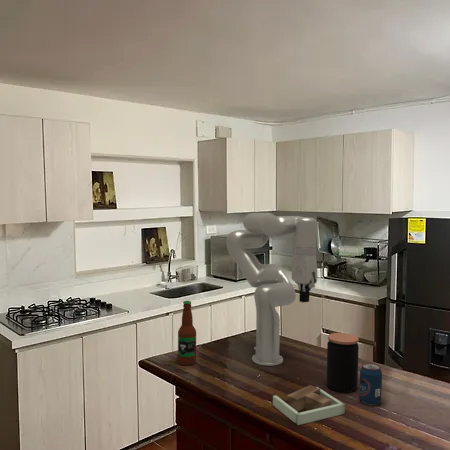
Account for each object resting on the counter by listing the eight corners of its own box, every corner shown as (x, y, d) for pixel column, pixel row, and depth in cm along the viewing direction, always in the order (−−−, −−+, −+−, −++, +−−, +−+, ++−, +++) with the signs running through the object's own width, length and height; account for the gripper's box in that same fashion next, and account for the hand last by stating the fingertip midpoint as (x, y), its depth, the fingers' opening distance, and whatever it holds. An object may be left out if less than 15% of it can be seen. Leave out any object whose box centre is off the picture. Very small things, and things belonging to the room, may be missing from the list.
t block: (287, 407, 145) (287, 395, 145) (310, 396, 153) (310, 385, 153) (315, 420, 137) (315, 407, 137) (338, 408, 145) (338, 395, 145)
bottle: (174, 363, 182) (174, 302, 180) (185, 358, 188) (185, 298, 186) (188, 367, 178) (188, 304, 176) (199, 361, 184) (200, 301, 182)
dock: (272, 405, 147) (272, 395, 146) (316, 395, 154) (317, 386, 154) (297, 425, 134) (298, 415, 134) (344, 413, 141) (344, 404, 141)
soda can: (354, 399, 152) (355, 363, 151) (370, 395, 154) (372, 361, 154) (369, 408, 145) (370, 371, 144) (385, 404, 148) (387, 368, 147)
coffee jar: (351, 380, 167) (353, 332, 165) (361, 393, 156) (363, 342, 155) (323, 380, 166) (324, 332, 165) (330, 393, 156) (332, 342, 154)
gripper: (285, 249, 169) (284, 298, 170) (309, 254, 156) (307, 307, 157) (302, 248, 172) (301, 296, 174) (326, 253, 159) (325, 305, 160)
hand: (304, 301), depth 165 cm, fingers closed
